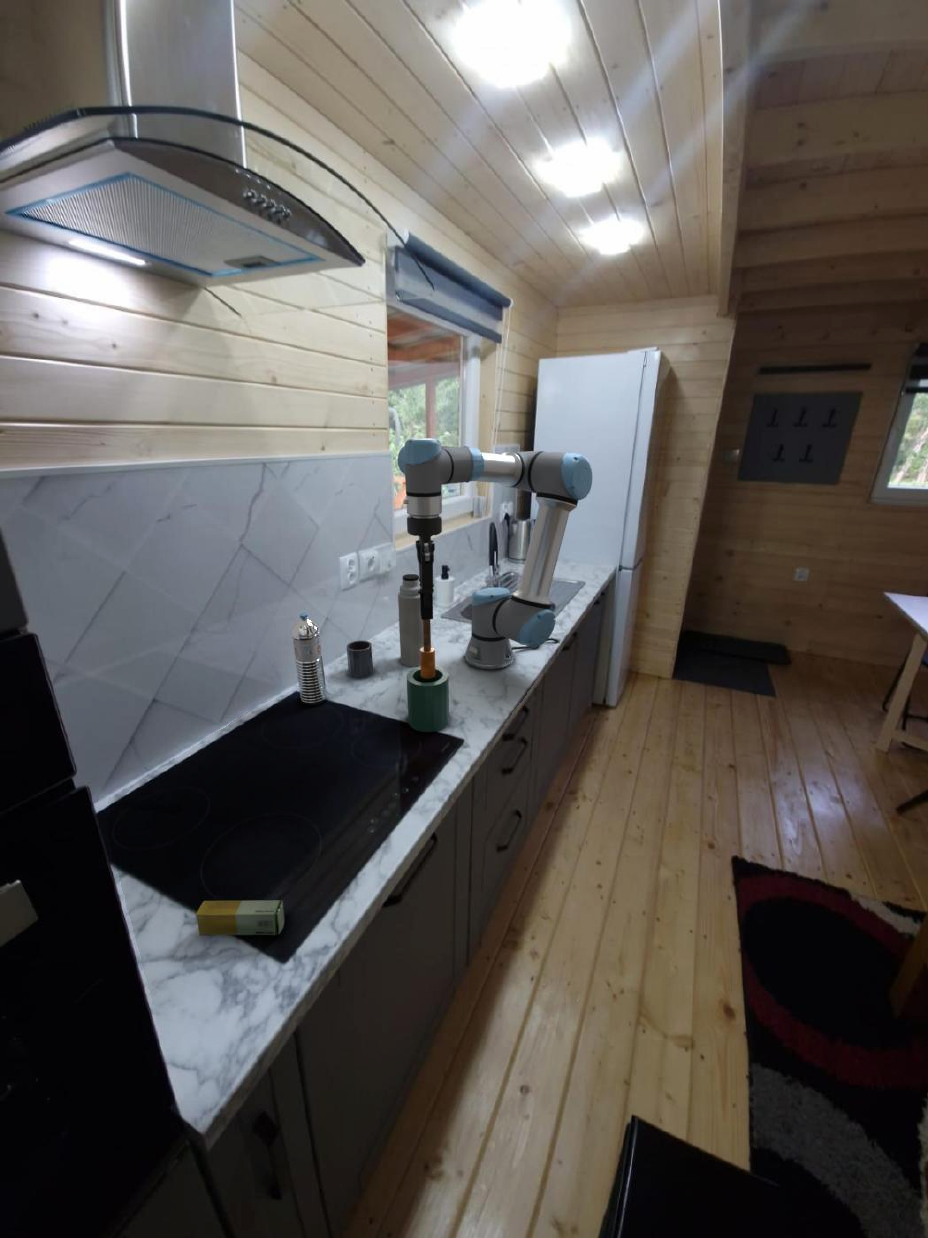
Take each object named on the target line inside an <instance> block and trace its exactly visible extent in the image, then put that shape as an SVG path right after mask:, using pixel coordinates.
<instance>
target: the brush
mask: <svg viewBox="0 0 928 1238" xmlns="http://www.w3.org/2000/svg"><path fill="white" fill-rule="evenodd" d="M431 624H432V623H431V619H427V620H423V647H422V648H421V649H420V665H419V667H420V671H421V677H422V678H425V679H430V678H433V677H435V666H436V649H435V647H433V646H432V632H431V631H432V630H431V629H432V628H431Z"/></svg>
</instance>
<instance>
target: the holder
mask: <svg viewBox="0 0 928 1238" xmlns="http://www.w3.org/2000/svg"><path fill="white" fill-rule="evenodd" d="M373 657H374V656H373V644H372V642H370V641H367V640H354V641H351V642H349V643H348V644H346V658H347V669H348V675H349V677H351V678H354V679H366V678H369V677H371V676H372V675H373V674H374V658H373Z"/></svg>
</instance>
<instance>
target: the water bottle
mask: <svg viewBox="0 0 928 1238" xmlns="http://www.w3.org/2000/svg"><path fill="white" fill-rule="evenodd" d="M308 615H309V614H308V613H306V612H304V613H300V614H299V620H298V621H297V622H296V623H295V624H294V626H293V627H292V629H291V637H292V643H293V651H294V657H295V659H294V660H295V667H296V675H297V682H298V689H299V690H298V691H299V697H300V702H301V703H302V704H303V705H306V706H309V707H311V706H313V707H314V706H318V705H320V704H322V703H324V702H325V701H326V700H327V694H328V693H327V685H326V677H325V668H324V659H323V658H324V657H323V653H322V646H321V645H322V644H321V637H320V633H321V632H320V627H319V626H318V624H316V623H315V622H314V621H313V620H311V619H309V617H308Z"/></svg>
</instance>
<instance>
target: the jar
mask: <svg viewBox="0 0 928 1238" xmlns="http://www.w3.org/2000/svg"><path fill="white" fill-rule="evenodd" d="M405 676H406V694H407V695H406V696H407V697H406V698H407V720H408V721H407V722H408V725H409V726H410V727H411V728H412V729H413V730H415V731H418V732H421V733H433V732H438V731H440V730H442V729H445V728H446V727H447V725H448V724H449V720H450V680H449V679H450V676H449V672H448V671H447V670H446V669H445V668H442V667H440V666H436V665H435V677H433V678H430V679H425V678H422V677H421V671H420V666H416V667H414V668H412V669H410V670H409V671H408V672H407V673H406V675H405Z"/></svg>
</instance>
